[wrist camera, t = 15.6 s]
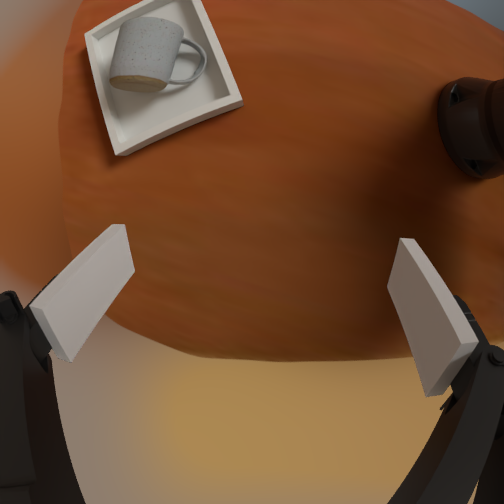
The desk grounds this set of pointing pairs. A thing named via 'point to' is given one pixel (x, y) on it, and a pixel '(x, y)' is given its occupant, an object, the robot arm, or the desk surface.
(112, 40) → the tray
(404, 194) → the desk surface
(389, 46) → the desk surface
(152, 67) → the ceramic mug
